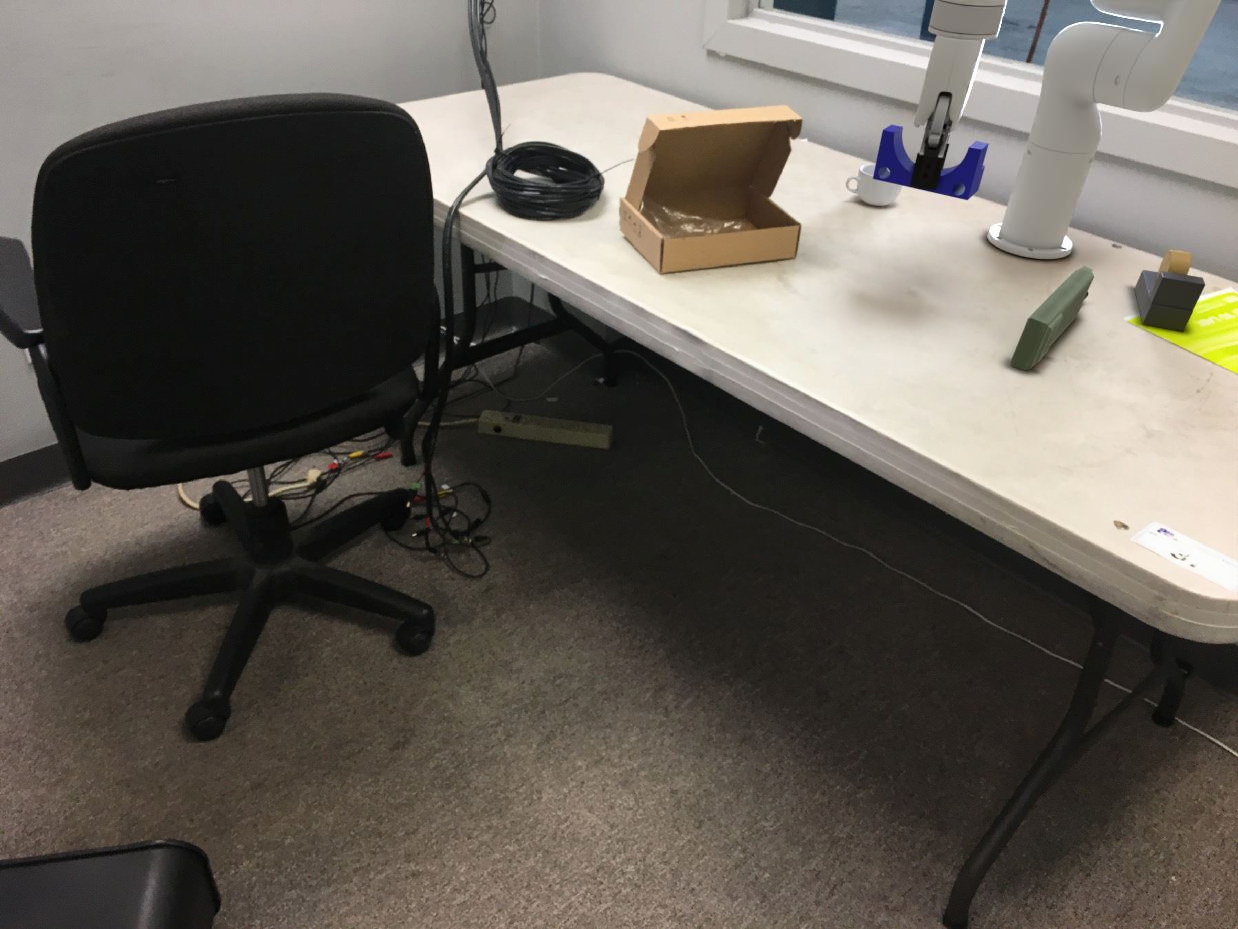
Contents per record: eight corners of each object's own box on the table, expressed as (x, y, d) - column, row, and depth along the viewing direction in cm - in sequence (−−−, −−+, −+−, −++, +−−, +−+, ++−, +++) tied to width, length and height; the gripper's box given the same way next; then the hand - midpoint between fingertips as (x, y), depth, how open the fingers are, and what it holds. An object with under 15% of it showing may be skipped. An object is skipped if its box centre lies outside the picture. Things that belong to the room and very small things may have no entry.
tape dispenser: (1134, 288, 125) (1156, 235, 120) (1172, 295, 124) (1196, 242, 119) (1142, 324, 116) (1167, 268, 111) (1183, 331, 115) (1210, 275, 110)
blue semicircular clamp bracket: (978, 190, 107) (992, 140, 103) (967, 200, 104) (981, 149, 100) (885, 169, 112) (895, 121, 109) (872, 178, 109) (882, 129, 106)
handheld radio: (1005, 363, 106) (1067, 297, 122) (1031, 373, 105) (1091, 305, 120) (1024, 315, 102) (1086, 253, 118) (1052, 325, 100) (1111, 261, 116)
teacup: (888, 193, 154) (895, 162, 151) (906, 209, 148) (913, 177, 145) (835, 194, 153) (840, 163, 149) (850, 210, 147) (856, 178, 143)
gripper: (938, 4, 104) (903, 157, 115) (923, 28, 91) (885, 197, 102) (1004, 10, 102) (962, 166, 113) (997, 36, 89) (950, 208, 100)
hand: (925, 179), depth 108 cm, fingers closed on blue semicircular clamp bracket, 4 cm apart
